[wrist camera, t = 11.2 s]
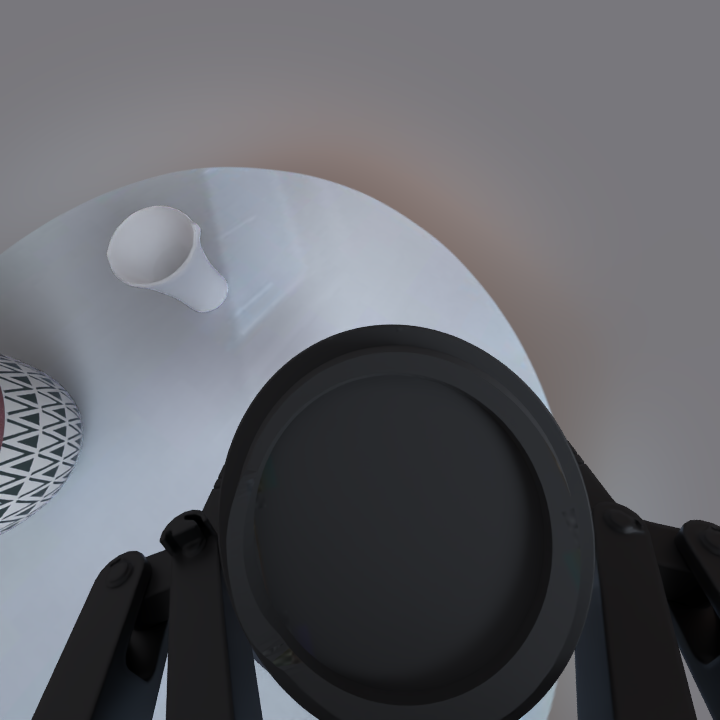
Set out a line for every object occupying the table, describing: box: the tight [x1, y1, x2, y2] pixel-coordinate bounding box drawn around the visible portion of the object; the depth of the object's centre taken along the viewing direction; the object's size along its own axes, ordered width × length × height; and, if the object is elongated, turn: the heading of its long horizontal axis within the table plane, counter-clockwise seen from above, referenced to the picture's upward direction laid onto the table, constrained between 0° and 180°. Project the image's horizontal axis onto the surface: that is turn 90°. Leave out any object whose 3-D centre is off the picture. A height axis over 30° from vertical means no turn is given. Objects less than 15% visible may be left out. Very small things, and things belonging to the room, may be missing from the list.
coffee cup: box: [218, 325, 595, 720], centre depth 13 cm, size 9×9×15 cm
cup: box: [106, 205, 228, 313], centre depth 34 cm, size 9×9×10 cm
